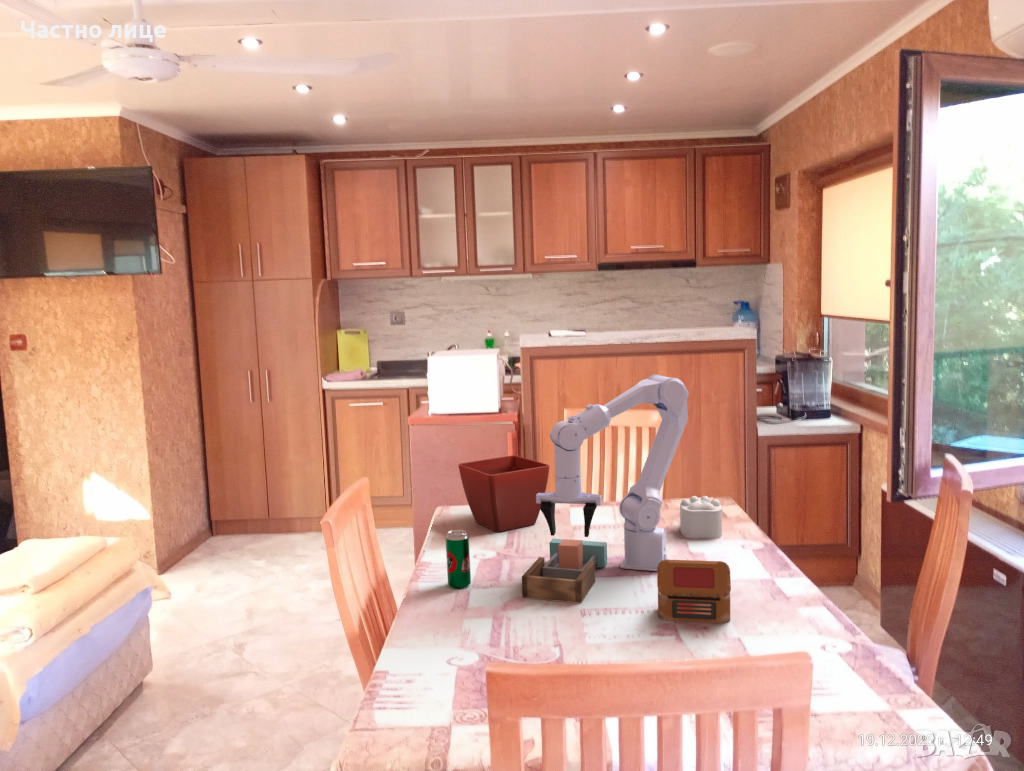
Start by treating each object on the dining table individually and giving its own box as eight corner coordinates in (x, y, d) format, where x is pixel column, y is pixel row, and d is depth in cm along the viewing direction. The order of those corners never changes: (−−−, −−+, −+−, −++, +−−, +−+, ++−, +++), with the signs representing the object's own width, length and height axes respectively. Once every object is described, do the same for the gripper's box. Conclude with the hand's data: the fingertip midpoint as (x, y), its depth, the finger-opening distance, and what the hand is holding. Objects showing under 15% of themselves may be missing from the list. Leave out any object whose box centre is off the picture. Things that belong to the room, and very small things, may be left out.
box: (761, 592, 159) (760, 537, 158) (779, 654, 132) (779, 588, 131) (625, 586, 165) (624, 533, 164) (615, 644, 138) (614, 582, 136)
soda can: (467, 590, 165) (465, 536, 164) (445, 589, 166) (442, 535, 165) (473, 581, 170) (471, 529, 169) (451, 580, 171) (449, 528, 170)
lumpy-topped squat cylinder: (681, 538, 194) (681, 505, 193) (679, 523, 207) (678, 492, 206) (723, 539, 192) (723, 505, 191) (718, 523, 205) (718, 492, 204)
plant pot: (517, 509, 226) (514, 454, 224) (553, 524, 210) (551, 464, 208) (459, 521, 216) (456, 463, 215) (492, 538, 200) (490, 475, 198)
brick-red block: (578, 572, 170) (578, 546, 169) (559, 571, 171) (558, 545, 170) (583, 565, 174) (582, 540, 173) (563, 564, 175) (563, 539, 174)
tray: (607, 563, 178) (606, 542, 177) (592, 585, 165) (592, 562, 164) (553, 558, 182) (553, 538, 182) (535, 580, 169) (534, 558, 168)
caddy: (595, 581, 167) (594, 561, 167) (581, 603, 156) (580, 581, 155) (540, 576, 172) (539, 557, 171) (522, 597, 160) (521, 576, 160)
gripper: (603, 472, 172) (604, 530, 173) (540, 470, 175) (542, 528, 177) (598, 479, 165) (600, 540, 166) (532, 478, 169) (535, 537, 170)
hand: (569, 534), depth 171 cm, fingers open, 7 cm apart
